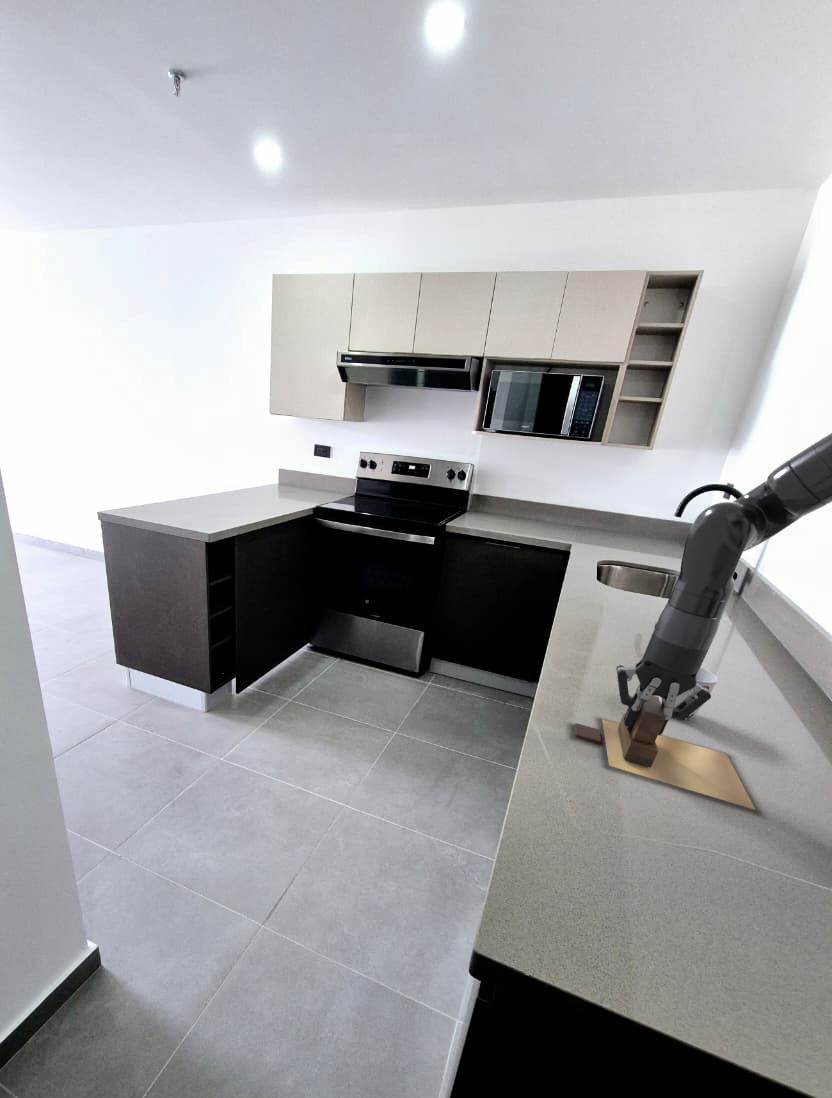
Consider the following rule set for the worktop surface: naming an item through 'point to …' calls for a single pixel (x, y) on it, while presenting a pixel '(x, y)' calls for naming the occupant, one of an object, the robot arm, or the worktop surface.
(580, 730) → the small brown wooden tile
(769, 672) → the worktop surface
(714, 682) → the cup
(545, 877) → the worktop surface
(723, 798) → the board
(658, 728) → the stepped wooden block
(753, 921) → the worktop surface
